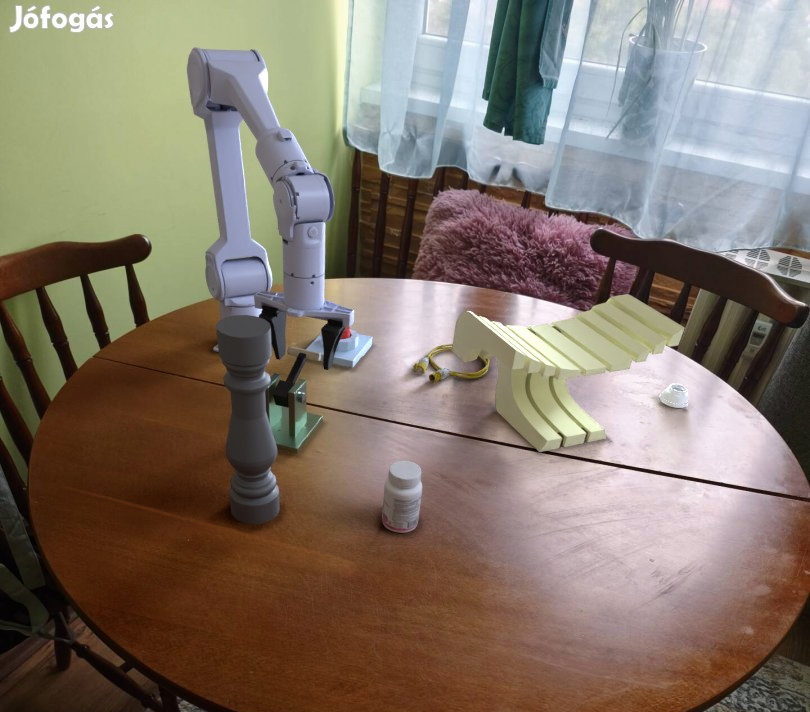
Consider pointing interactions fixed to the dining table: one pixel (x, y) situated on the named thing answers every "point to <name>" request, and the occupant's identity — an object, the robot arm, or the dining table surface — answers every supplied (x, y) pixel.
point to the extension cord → (443, 372)
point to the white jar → (675, 396)
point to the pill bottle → (402, 497)
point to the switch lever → (293, 374)
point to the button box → (345, 348)
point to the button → (346, 333)
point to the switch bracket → (290, 416)
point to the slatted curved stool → (562, 363)
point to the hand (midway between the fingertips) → (304, 362)
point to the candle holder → (249, 417)
